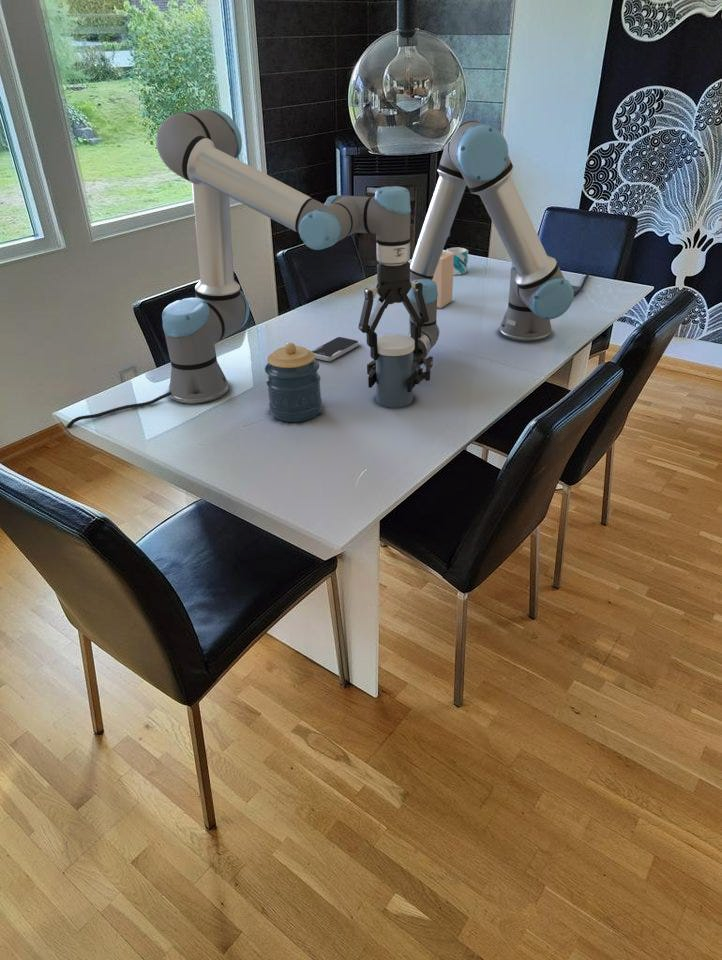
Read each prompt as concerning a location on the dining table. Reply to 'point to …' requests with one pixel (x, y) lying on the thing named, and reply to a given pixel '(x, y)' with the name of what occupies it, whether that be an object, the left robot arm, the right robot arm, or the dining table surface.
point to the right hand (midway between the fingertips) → (389, 384)
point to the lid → (395, 345)
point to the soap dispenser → (444, 278)
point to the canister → (293, 384)
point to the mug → (459, 260)
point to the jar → (393, 380)
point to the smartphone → (334, 348)
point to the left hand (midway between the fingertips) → (394, 354)
